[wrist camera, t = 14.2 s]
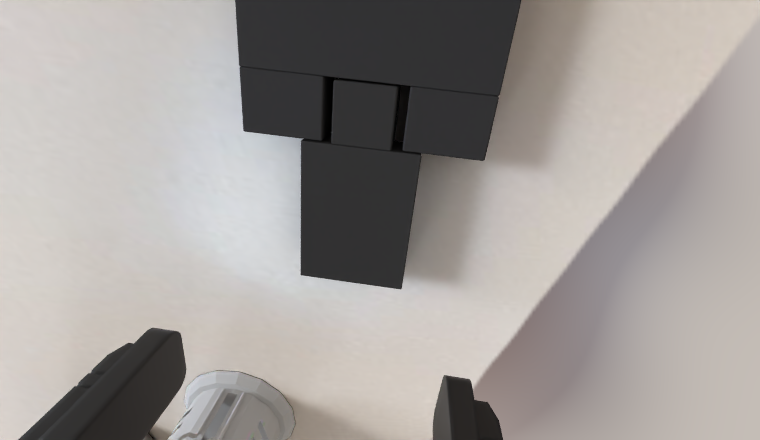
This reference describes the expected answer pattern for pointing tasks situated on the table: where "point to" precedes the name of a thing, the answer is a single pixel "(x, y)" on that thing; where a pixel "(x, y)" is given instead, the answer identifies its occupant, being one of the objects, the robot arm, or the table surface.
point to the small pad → (358, 190)
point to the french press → (233, 409)
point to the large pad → (377, 65)
